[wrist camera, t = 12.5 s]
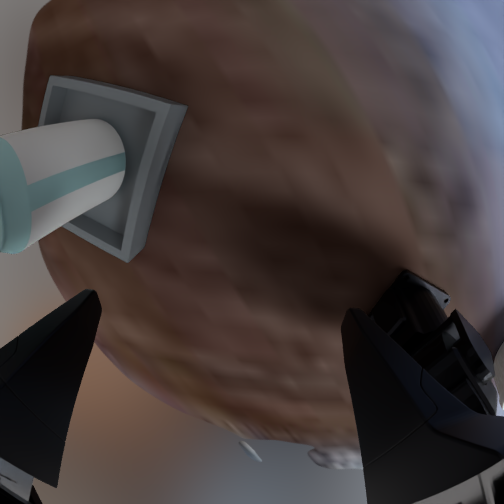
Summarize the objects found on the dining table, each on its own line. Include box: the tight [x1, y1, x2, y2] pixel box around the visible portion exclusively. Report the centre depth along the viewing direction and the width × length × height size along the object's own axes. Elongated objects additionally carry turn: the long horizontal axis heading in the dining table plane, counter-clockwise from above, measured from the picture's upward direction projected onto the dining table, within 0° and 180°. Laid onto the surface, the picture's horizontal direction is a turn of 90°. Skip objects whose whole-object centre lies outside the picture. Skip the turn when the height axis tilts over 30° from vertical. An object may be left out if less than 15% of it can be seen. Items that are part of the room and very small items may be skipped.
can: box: [0, 119, 126, 254], centre depth 14 cm, size 7×7×12 cm
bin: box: [38, 76, 188, 263], centre depth 19 cm, size 13×13×3 cm
